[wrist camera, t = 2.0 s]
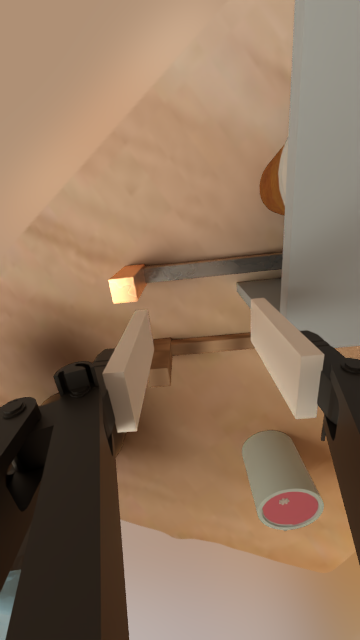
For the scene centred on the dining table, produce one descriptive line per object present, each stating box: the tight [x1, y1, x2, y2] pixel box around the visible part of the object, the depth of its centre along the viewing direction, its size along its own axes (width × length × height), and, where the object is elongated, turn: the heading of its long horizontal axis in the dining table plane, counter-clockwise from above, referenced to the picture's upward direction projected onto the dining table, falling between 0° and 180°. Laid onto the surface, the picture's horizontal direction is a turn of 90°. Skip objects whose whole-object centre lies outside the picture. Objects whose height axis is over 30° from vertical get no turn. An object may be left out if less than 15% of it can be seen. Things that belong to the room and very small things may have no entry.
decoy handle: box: [148, 333, 255, 387], centre depth 33 cm, size 20×2×8 cm, turn 96°
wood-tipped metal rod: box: [109, 252, 283, 304], centre depth 26 cm, size 27×16×8 cm, turn 96°
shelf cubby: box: [237, 0, 360, 348], centre depth 22 cm, size 15×21×17 cm
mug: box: [242, 430, 324, 531], centre depth 41 cm, size 14×9×10 cm
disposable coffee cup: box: [260, 135, 289, 216], centre depth 23 cm, size 10×10×12 cm
